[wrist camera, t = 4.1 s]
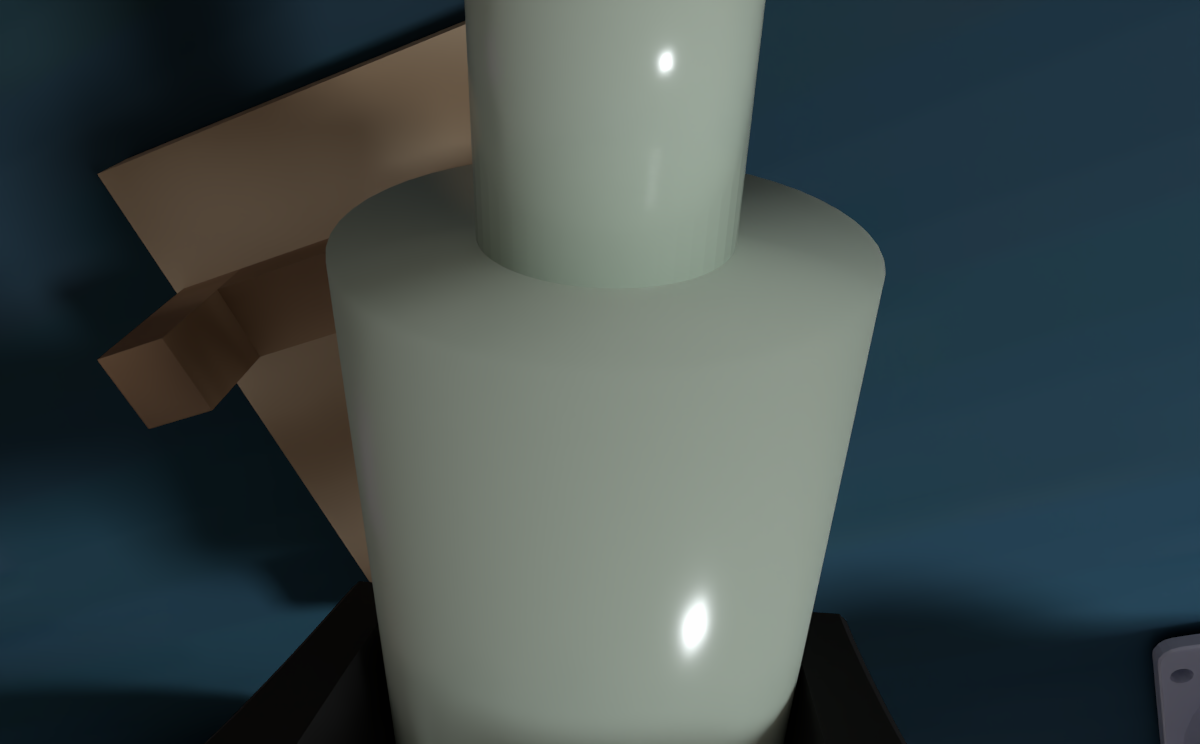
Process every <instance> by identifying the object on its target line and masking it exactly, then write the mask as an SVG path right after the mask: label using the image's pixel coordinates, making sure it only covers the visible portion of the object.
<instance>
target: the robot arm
mask: <svg viewBox="0 0 1200 744" xmlns="http://www.w3.org/2000/svg"><path fill="white" fill-rule="evenodd" d="M1152 657H1153V668H1154V679H1155V690H1156V701H1157V712H1158V723H1159V734H1160V744H1200V633H1199V634H1193V635H1186V636H1180V637H1173V638H1169V639H1165V640H1163V641H1162V642H1160V643H1158V645H1157V646H1156V647H1155V648H1154V649H1153V654H1152ZM204 744H396V743H395V736H394V729H393V722H392V715H391V708H390V701H389V694H388V687H387V681H386V674H385V667H384V660H383V653H382V646H381V639H380V632H379V625H378V618H377V612H376V605H375V598H374V591H373V584H372V582H363V581H359V582H358V583H357V584H356V585H355V586H353V587H352V588H351V590H350V591H349V592H348V593H347V594H346V595H345V596H344V597H343V598H342V600H341V601H340V602H339V603H338V604H337V605H336V606H335V607H334V608H333V610H332V611H331V612H330V613H329V614H328V615H327V616H326V617H325V619H324V620H323V621H322V622H321V623H320V624H319V625H318V626H317V627H316V629H315V630H314V631H313V632H312V633H311V634H310V635H309V636H308V637H307V638H306V640H305V641H304V642H303V643H302V644H301V645H300V646H299V647H298V648H297V649H296V650H295V652H294V653H293V654H292V655H291V656H290V657H289V658H288V659H287V660H286V661H285V662H284V663H283V665H282V666H281V667H280V668H279V669H278V670H277V671H276V672H275V673H274V674H273V675H272V676H271V677H270V678H269V679H268V680H267V681H266V682H265V683H264V684H263V685H262V686H261V687H260V688H259V690H258V691H257V692H256V693H255V694H254V695H253V696H252V697H251V698H250V699H249V700H248V701H247V702H246V703H245V704H244V705H243V706H242V707H241V708H240V709H239V710H238V711H237V712H236V713H235V714H234V715H233V716H232V717H231V718H230V719H229V720H228V721H227V722H226V723H225V724H224V725H223V726H222V727H221V728H220V729H219V730H218V731H217V732H216V733H215V734H214V735H213V736H212V737H210V738H209V739H208V740H207V741H206V742H205V743H204ZM784 744H907V743H906V742H905V740H904V738H903V736H902V735H901V733H900V731H899V729H898V728H897V726H896V724H895V722H894V720H893V718H892V716H891V715H890V713H889V711H888V709H887V707H886V705H885V703H884V701H883V699H882V697H881V695H880V693H879V691H878V689H877V687H876V685H875V684H874V682H873V679H872V677H871V675H870V673H869V671H868V669H867V667H866V665H865V663H864V661H863V659H862V656H861V654H860V652H859V650H858V648H857V645H856V643H855V641H854V639H853V636H852V634H851V631H850V629H849V626H848V624H847V621H846V620H845V619H844V618H843V617H842V616H841V615H840V614H831V613H816V612H812V615H811V620H810V625H809V629H808V634H807V639H806V643H805V648H804V652H803V657H802V662H801V666H800V671H799V675H798V680H797V685H796V689H795V694H794V698H793V703H792V708H791V712H790V717H789V722H788V726H787V731H786V735H785V740H784Z"/></svg>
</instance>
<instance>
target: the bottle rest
mask: <svg viewBox="0 0 1200 744" xmlns="http://www.w3.org/2000/svg"><path fill="white" fill-rule="evenodd" d="M471 164H472V148H471V127H470V106H469V85H468V64H467V43H466V22H465V21H463V22H461V23H458V24H456V25H453V26H451V27H448V28H446V29H443V30H441V31H439V32H436V33H434V34H431V35H429V36H426V37H424V38H421V39H419V40H417V41H414V42H412V43H409V44H407V45H404V46H402V47H399V48H397V49H394V50H392V51H390V52H387V53H385V54H382V55H380V56H377V57H375V58H372V59H370V60H368V61H365V62H363V63H360V64H358V65H355V66H353V67H350V68H348V69H346V70H343V71H341V72H338V73H336V74H333V75H331V76H328V77H326V78H323V79H321V80H319V81H316V82H314V83H311V84H309V85H306V86H304V87H301V88H299V89H297V90H294V91H292V92H289V93H287V94H284V95H282V96H279V97H277V98H274V99H272V100H270V101H267V102H265V103H262V104H260V105H257V106H255V107H252V108H250V109H248V110H245V111H243V112H240V113H238V114H235V115H233V116H230V117H228V118H226V119H223V120H221V121H218V122H216V123H213V124H211V125H208V126H206V127H203V128H201V129H199V130H196V131H194V132H191V133H189V134H186V135H184V136H181V137H179V138H177V139H174V140H172V141H169V142H167V143H164V144H162V145H159V146H157V147H155V148H152V149H150V150H147V151H145V152H142V153H140V154H137V155H135V156H132V157H130V158H128V159H125V160H123V161H122V162H120V163H118V164H116V165H114V166H112V167H110V168H108V169H106V170H104V171H102V172H100V173H99V174H98V176H99V177H100V179H101V180H102V182H103V183H104V185H105V186H106V188H107V189H108V191H109V192H110V194H111V195H112V197H113V198H114V200H115V201H116V203H117V204H118V206H119V207H120V209H121V210H122V212H123V213H124V215H125V216H126V218H127V219H128V221H129V222H130V224H131V225H132V227H133V228H134V230H135V231H136V233H137V234H138V236H139V237H140V239H141V240H142V242H143V243H144V245H145V246H146V248H147V249H148V251H149V252H150V254H151V255H152V257H153V258H154V260H155V261H156V263H157V264H158V266H159V267H160V269H161V270H162V272H163V273H164V275H165V276H166V278H167V279H168V281H169V282H170V284H171V285H172V287H173V288H174V290H175V291H176V293H177V294H176V295H175V296H174V297H173V298H171V299H170V300H169V301H168V302H167V303H165V304H164V305H163V306H162V307H160V308H159V309H158V310H157V311H156V312H154V313H153V314H152V315H151V316H150V317H148V318H147V319H146V320H145V321H143V322H142V323H141V324H140V325H139V326H137V327H136V328H135V329H134V330H133V331H131V332H130V333H129V334H128V335H126V336H125V337H124V338H123V339H122V340H120V341H119V342H118V343H117V344H116V345H114V346H113V347H112V348H111V349H109V350H108V351H107V352H106V353H105V354H103V355H102V356H101V357H100V358H99V359H97V360H98V362H99V363H100V364H101V366H102V367H103V368H104V370H105V371H106V372H107V374H108V375H109V376H110V378H111V379H112V380H113V382H114V383H115V384H116V386H117V387H118V388H119V390H120V391H121V393H122V394H123V395H124V397H125V398H126V399H127V401H128V402H129V403H130V405H131V406H132V407H133V409H134V410H135V411H136V413H137V414H138V415H139V417H140V418H141V419H142V421H143V422H144V423H145V425H146V426H147V427H148V429H151V428H154V427H158V426H161V425H164V424H168V423H171V422H174V421H178V420H181V419H185V418H188V417H191V416H195V415H198V414H201V413H205V412H208V411H212V410H213V409H214V408H215V407H216V406H217V404H218V403H219V402H220V401H221V400H222V399H223V398H224V397H225V396H226V394H227V393H228V392H229V391H230V390H231V389H232V388H233V387H234V385H235V384H236V383H237V384H238V385H239V387H240V388H241V390H242V391H243V393H244V394H245V396H246V397H247V399H248V400H249V402H250V403H251V405H252V406H253V408H254V409H255V411H256V412H257V414H258V415H259V417H260V418H261V420H262V421H263V423H264V424H265V426H266V427H267V429H268V430H269V432H270V433H271V435H272V436H273V438H274V439H275V441H276V442H277V444H278V445H279V447H280V448H281V450H282V451H283V453H284V454H285V456H286V457H287V459H288V460H289V462H290V463H291V465H292V466H293V468H294V469H295V471H296V472H297V474H298V475H299V477H300V478H301V480H302V481H303V483H304V484H305V486H306V487H307V489H308V490H309V492H310V493H311V495H312V496H313V498H314V499H315V501H316V502H317V504H318V505H319V507H320V508H321V510H322V511H323V513H324V514H325V516H326V517H327V519H328V520H329V522H330V523H331V525H332V526H333V528H334V529H335V531H336V532H337V534H338V535H339V537H340V538H341V540H342V541H343V543H344V544H345V546H346V547H347V549H348V550H349V552H350V553H351V555H352V556H353V558H354V559H355V561H356V562H357V564H358V565H359V567H360V568H361V570H362V571H363V573H364V574H365V576H366V577H367V579H368V580H369V582H372V577H371V570H370V563H369V556H368V550H367V543H366V536H365V529H364V522H363V515H362V508H361V501H360V494H359V487H358V481H357V474H356V467H355V460H354V453H353V446H352V439H351V432H350V425H349V419H348V412H347V405H346V398H345V391H344V384H343V377H342V370H341V363H340V356H339V350H338V343H337V336H336V329H335V322H334V315H333V308H332V301H331V294H330V288H329V281H328V274H327V267H326V245H327V242H328V239H329V236H330V234H331V232H332V231H333V229H334V228H335V226H336V225H337V224H338V222H339V221H340V220H341V219H342V218H343V217H344V216H345V215H346V214H347V213H348V212H350V211H351V210H352V209H353V208H355V207H356V206H358V205H359V204H361V203H362V202H364V201H365V200H367V199H368V198H370V197H372V196H374V195H376V194H378V193H380V192H382V191H384V190H386V189H388V188H390V187H393V186H395V185H398V184H400V183H403V182H405V181H408V180H411V179H414V178H417V177H421V176H424V175H427V174H430V173H434V172H438V171H442V170H447V169H451V168H455V167H460V166H465V165H471Z"/></svg>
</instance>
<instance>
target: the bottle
mask: <svg viewBox="0 0 1200 744" xmlns="http://www.w3.org/2000/svg"><path fill="white" fill-rule="evenodd" d="M464 1H465V22H466V43H467V64H468V85H469V106H470V127H471V148H472V164H471V165H465V166H460V167H455V168H451V169H447V170H442V171H438V172H434V173H430V174H427V175H424V176H421V177H417V178H414V179H411V180H408V181H405V182H403V183H400V184H398V185H395V186H393V187H390V188H388V189H386V190H384V191H382V192H380V193H378V194H376V195H374V196H372V197H370V198H368V199H367V200H365V201H364V202H362V203H361V204H359V205H358V206H356V207H355V208H353V209H352V210H351V211H350V212H348V213H347V214H346V215H345V216H344V217H343V218H342V219H341V220H340V221H339V222H338V224H337V225H336V226H335V228H334V229H333V231H332V232H331V234H330V236H329V239H328V242H327V245H326V267H327V274H328V281H329V288H330V294H331V301H332V308H333V315H334V322H335V329H336V336H337V343H338V350H339V356H340V363H341V370H342V377H343V384H344V391H345V398H346V405H347V412H348V419H349V425H350V432H351V439H352V446H353V453H354V460H355V467H356V474H357V481H358V487H359V494H360V501H361V508H362V515H363V522H364V529H365V536H366V543H367V550H368V556H369V563H370V570H371V577H372V584H373V591H374V598H375V605H376V612H377V618H378V625H379V632H380V639H381V646H382V653H383V660H384V667H385V674H386V681H387V687H388V694H389V701H390V708H391V715H392V722H393V729H394V736H395V743H396V744H784V740H785V735H786V731H787V726H788V722H789V717H790V712H791V708H792V703H793V698H794V694H795V689H796V685H797V680H798V675H799V671H800V666H801V662H802V657H803V652H804V648H805V643H806V639H807V634H808V629H809V625H810V620H811V615H812V611H813V606H814V602H815V597H816V592H817V588H818V583H819V579H820V574H821V569H822V565H823V560H824V555H825V551H826V546H827V542H828V537H829V532H830V528H831V523H832V519H833V514H834V509H835V505H836V500H837V496H838V491H839V486H840V482H841V477H842V472H843V468H844V463H845V459H846V454H847V449H848V445H849V440H850V436H851V431H852V426H853V422H854V417H855V413H856V408H857V403H858V399H859V394H860V389H861V385H862V380H863V376H864V371H865V366H866V362H867V357H868V353H869V348H870V343H871V339H872V334H873V329H874V325H875V320H876V316H877V311H878V306H879V302H880V297H881V293H882V288H883V283H884V279H885V264H884V259H883V256H882V254H881V252H880V249H879V247H878V245H877V244H876V243H875V241H874V240H873V239H872V237H871V236H870V235H869V234H868V233H867V232H866V231H865V230H864V229H863V228H862V227H861V226H860V225H859V224H858V223H856V222H855V221H854V220H853V219H851V218H850V217H848V216H847V215H845V214H844V213H842V212H841V211H839V210H838V209H836V208H834V207H832V206H830V205H829V204H827V203H825V202H823V201H821V200H819V199H817V198H815V197H812V196H810V195H808V194H806V193H803V192H801V191H799V190H796V189H793V188H790V187H788V186H785V185H782V184H779V183H776V182H773V181H770V180H766V179H763V178H759V177H756V176H753V175H749V174H745V169H746V160H747V152H748V143H749V135H750V127H751V118H752V110H753V101H754V93H755V84H756V76H757V67H758V59H759V50H760V42H761V33H762V25H763V16H764V8H765V0H464Z"/></svg>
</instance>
